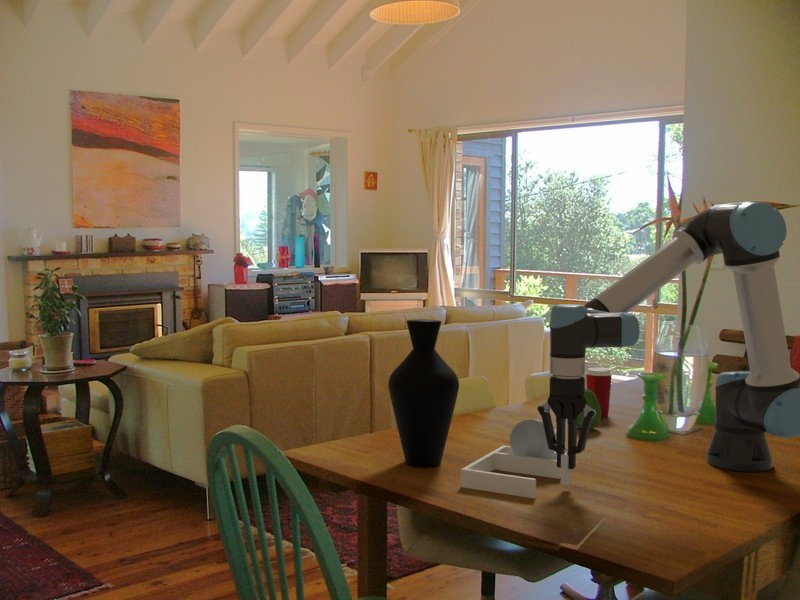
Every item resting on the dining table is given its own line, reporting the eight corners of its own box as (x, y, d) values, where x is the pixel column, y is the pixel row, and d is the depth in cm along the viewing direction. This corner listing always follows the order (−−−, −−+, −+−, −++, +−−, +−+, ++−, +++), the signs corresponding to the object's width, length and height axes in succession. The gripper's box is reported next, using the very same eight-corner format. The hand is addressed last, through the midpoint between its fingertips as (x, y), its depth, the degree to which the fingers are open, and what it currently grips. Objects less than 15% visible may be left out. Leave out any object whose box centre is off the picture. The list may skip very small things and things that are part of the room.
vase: (376, 469, 202) (377, 322, 199) (403, 452, 217) (403, 316, 215) (445, 477, 195) (446, 325, 193) (467, 459, 211) (468, 319, 209)
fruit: (591, 426, 249) (592, 385, 248) (606, 432, 241) (606, 390, 241) (567, 428, 246) (567, 387, 246) (581, 434, 239) (582, 391, 238)
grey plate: (555, 467, 199) (556, 421, 198) (553, 468, 198) (554, 422, 197) (511, 461, 204) (512, 416, 204) (509, 462, 203) (510, 417, 203)
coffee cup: (615, 416, 263) (616, 368, 262) (606, 421, 256) (607, 372, 255) (589, 413, 267) (590, 366, 266) (579, 418, 260) (580, 369, 259)
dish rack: (570, 470, 201) (570, 453, 201) (534, 498, 179) (534, 479, 179) (503, 461, 209) (503, 445, 209) (460, 487, 187) (461, 469, 187)
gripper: (601, 375, 184) (600, 482, 185) (544, 371, 190) (543, 474, 192) (592, 380, 177) (590, 491, 179) (532, 376, 183) (531, 483, 185)
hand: (565, 482), depth 185 cm, fingers closed
